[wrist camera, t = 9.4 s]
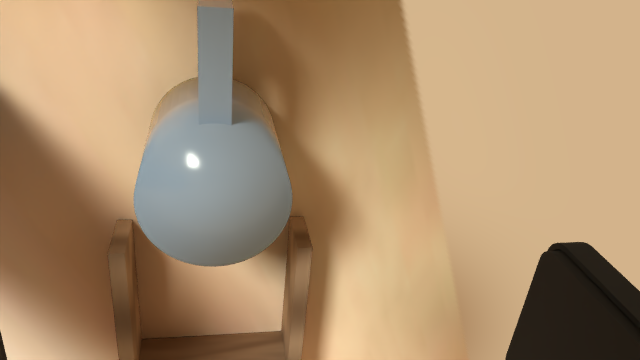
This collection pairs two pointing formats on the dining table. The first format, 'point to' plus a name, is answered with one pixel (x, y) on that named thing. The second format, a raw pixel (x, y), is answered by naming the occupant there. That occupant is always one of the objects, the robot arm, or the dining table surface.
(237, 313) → the dining table surface
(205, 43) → the grey-blue mug
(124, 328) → the caddy
